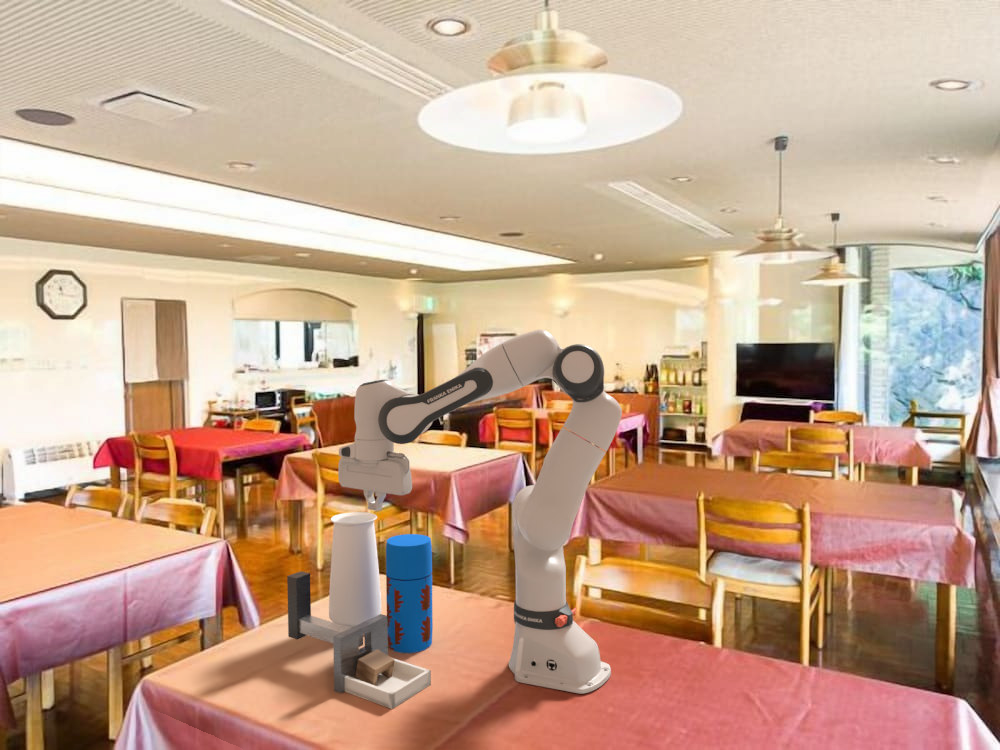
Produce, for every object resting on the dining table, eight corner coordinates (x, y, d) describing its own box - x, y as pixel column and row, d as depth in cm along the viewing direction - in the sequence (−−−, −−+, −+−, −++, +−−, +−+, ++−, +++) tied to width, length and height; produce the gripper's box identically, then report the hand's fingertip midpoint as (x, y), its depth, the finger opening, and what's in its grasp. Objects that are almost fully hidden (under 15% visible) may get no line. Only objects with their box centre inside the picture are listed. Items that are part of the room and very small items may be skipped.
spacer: (391, 676, 150) (394, 659, 149) (372, 687, 145) (375, 670, 144) (374, 666, 152) (377, 649, 152) (355, 676, 147) (358, 659, 147)
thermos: (427, 631, 175) (426, 532, 174) (437, 649, 165) (436, 543, 163) (383, 637, 171) (382, 536, 170) (390, 656, 161) (389, 548, 160)
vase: (364, 613, 187) (362, 508, 186) (391, 627, 177) (390, 517, 176) (319, 626, 178) (317, 517, 177) (346, 642, 169) (344, 526, 167)
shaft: (364, 651, 152) (364, 587, 152) (351, 657, 149) (350, 592, 148) (302, 630, 163) (301, 571, 163) (288, 636, 160) (287, 576, 160)
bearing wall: (388, 667, 156) (387, 615, 155) (341, 693, 144) (340, 638, 144) (381, 664, 157) (380, 614, 156) (334, 690, 145) (333, 636, 145)
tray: (430, 684, 148) (430, 670, 148) (392, 709, 138) (391, 694, 138) (384, 668, 155) (384, 655, 155) (344, 691, 145) (344, 677, 145)
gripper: (417, 452, 159) (418, 512, 160) (353, 445, 170) (353, 501, 171) (399, 455, 154) (399, 518, 154) (333, 448, 165) (334, 507, 166)
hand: (375, 509), depth 163 cm, fingers closed
